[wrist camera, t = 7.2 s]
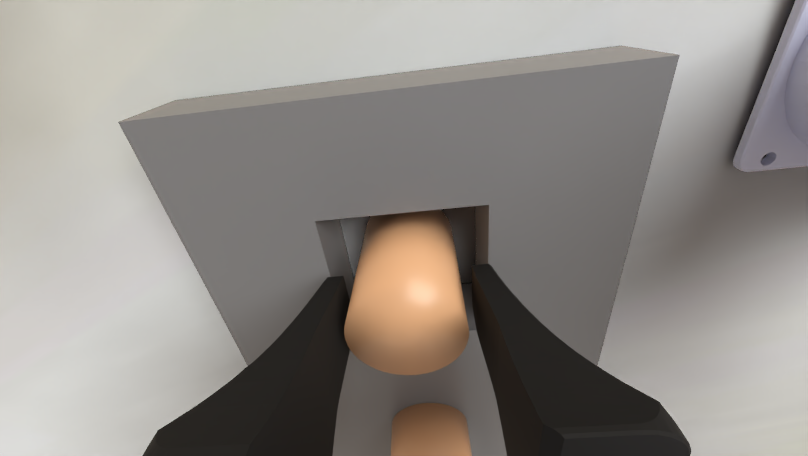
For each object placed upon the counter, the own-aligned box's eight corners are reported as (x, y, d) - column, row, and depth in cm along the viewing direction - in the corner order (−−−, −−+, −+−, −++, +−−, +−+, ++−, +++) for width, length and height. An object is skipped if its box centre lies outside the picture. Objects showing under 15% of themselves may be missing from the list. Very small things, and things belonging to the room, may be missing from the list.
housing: (621, 45, 12) (780, 71, 7) (550, 431, 24) (587, 542, 19) (174, 100, 13) (25, 157, 8) (324, 443, 26) (303, 551, 20)
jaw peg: (450, 192, 15) (468, 283, 10) (453, 265, 17) (469, 372, 12) (358, 200, 16) (331, 293, 10) (373, 271, 18) (356, 377, 13)
